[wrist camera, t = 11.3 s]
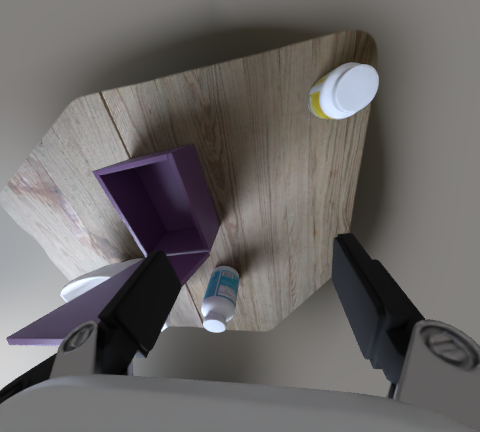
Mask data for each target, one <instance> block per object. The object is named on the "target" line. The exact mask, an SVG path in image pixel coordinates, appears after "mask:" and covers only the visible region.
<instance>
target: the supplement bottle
mask: <svg viewBox="0 0 480 432" xmlns="http://www.w3.org/2000/svg"><path fill="white" fill-rule="evenodd" d="M378 85H379V77H378V74H377V71H376V70H375V69H374V68H373V67H372V66H370V65H367V64H360V63H355V62H351V63H346V64H343V65H341V66H339V67H337V68H336V69H334V70H332V71H331V72H329V73H328V74H326V75H325V76H323V77H322V78H320V79H319V80H318V81H317V82H316V83H315V84H314V85H313V87H312V88H311V90H310V93H309V96H308V107H309V110H310V111H311V113H312V114H313V115H314V116H316V117H318V118H322V119H343V118H347V117H349V116H351V115H353V114H355V113H356V112H357V111H358V110H361V109H362V108H364V107H365V106H367V105H368V104H369V103H370V102H371V100H372V99H373V98H374V96H375V94H376V92H377V89H378Z"/></svg>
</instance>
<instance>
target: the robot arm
mask: <svg viewBox="0 0 480 432" xmlns="http://www.w3.org/2000/svg"><path fill="white" fill-rule="evenodd" d="M332 281H333V284H334V286H335V289H336V291H337V294H338V296H339V299H340V301H341V303H342V306H343V308H344V311H345V313H346V316H347V318H348V320H349V323H350V325H351V328H352V330H353V333H354V335H355V337H356V340H357V342H358V345H359V347H360V350H361V352H362V354H363V356H364V358H365V359H369V360H370V362H371V364H372V367H373V368H374V369H382V370H383V372H384V374H385V376H386V378H387V379H388V380H389V381H390V386H389V389H388V393H387V396H386V397H380V396H372V395H366V394H359V393H351V392H339V391H329V390H319V389H309V388H295V387H283V386H270V385H255V384H243V383H229V382H215V381H214V382H213V381H200V380H187V379H171V378H157V377H140V376H133V365H132V359H133V357H134V356H136V357H137V358H146V357H147V355H148V353H149V351H150V350H152V348H153V347H154V345H155V343H156V341H157V338H158V336H159V334H160V332H161V330H162V328H163V326H164V324H165V322H166V320H167V318H168V315H169V313H170V311H171V309H172V307H173V305H174V303H175V301H176V299H177V297H178V294H179V292H180V290H181V282H180V280H179V278H178V276H177V274H176V272H175V270H174V269H173V267H172V265H171V263H170V261H169V259H168V257H167V255H166V253H164V252H163V251H152V252H150V253H149V254H148V256H147V257H146V258H145V259H144V260H143V262H142V263H141V264H140V265H139V267H138V268H137V269H136V270H135V271H134V273H133V274H132V275H131V276H130V277H129V279H128V280H127V281H126V282H125V283H124V285H123V286H122V287H121V288H120V289H119V291H118V292H117V293H116V294H115V296H114V297H113V298H112V299H111V300H110V302H109V303H108V304H107V305H106V306H105V308H104V309H103V310H102V311H101V312H100V314H99V315H98V316H97V317H98V318H99V319H100V320H101V321H100V322H99V323H97V322H96V321H92V320H91V321H87V322H85V323H83V324H81V325H79V326H78V327H76V328H75V329H74V330H72V331H71V332H70V333H69V334H68V335H67V336H66V337H65V338H64V340H63V341H62V342H61V344H60V346H59V349H58V352H57V353H56V354H54V355H53V356H51V357H50V358H48V359H46V360H45V361H43V362H42V363H40V364H38V365H37V366H35V367H34V368H32V369H31V370H29V371H27V372H26V373H24V374H23V375H21V376H19V377H18V378H16V379H15V380H14V381H12V382H11V383H9V384H8V385H7V386H5V387H4V388H3V389H2V390H1V391H0V432H480V346H479V345H478V344H477V343H476V342H475V341H474V340H473V339H472V338H471V337H469V336H468V335H466V334H465V333H464V332H462V331H461V330H459V329H457V328H455V327H453V326H451V325H449V324H446V323H443V322H441V321H436V320H425V318H424V317H423V316H422V315H421V313H420V312H419V311H418V309H417V308H416V307H415V306H414V304H413V303H412V302H411V301H410V299H409V298H408V297H407V295H406V294H405V293H404V292H403V291H402V289H401V288H400V287H399V285H398V284H397V283H396V282H395V281H394V279H393V278H392V277H391V275H390V274H389V273H388V272H387V270H386V269H385V268H384V266H383V265H382V264H381V263H380V262H379V261H378V260H372V259H371V258H370V256H369V255H368V254H367V253H366V251H365V250H364V249H363V247H362V246H361V245H360V243H359V242H358V240H357V239H356V238H355V236H354V235H353V234H352V233H346V234H338V236H337V237H335V238H334V242H333V261H332Z"/></svg>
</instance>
